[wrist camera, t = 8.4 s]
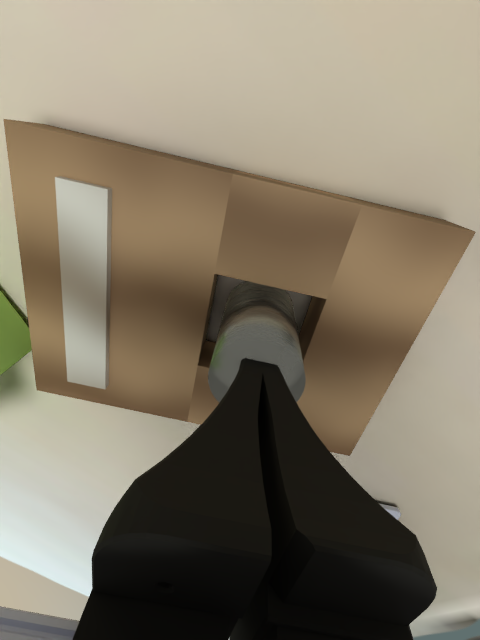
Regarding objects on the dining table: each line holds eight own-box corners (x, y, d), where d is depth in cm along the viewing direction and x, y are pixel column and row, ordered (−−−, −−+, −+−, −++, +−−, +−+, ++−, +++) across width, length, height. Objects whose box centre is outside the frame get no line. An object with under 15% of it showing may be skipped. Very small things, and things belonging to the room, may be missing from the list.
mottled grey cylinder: (284, 344, 18) (291, 424, 13) (221, 332, 18) (202, 408, 13) (300, 285, 16) (317, 350, 11) (231, 272, 16) (214, 331, 11)
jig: (340, 424, 20) (351, 461, 18) (61, 364, 20) (32, 394, 17) (444, 220, 14) (481, 234, 12) (44, 124, 14) (-5, 117, 11)
